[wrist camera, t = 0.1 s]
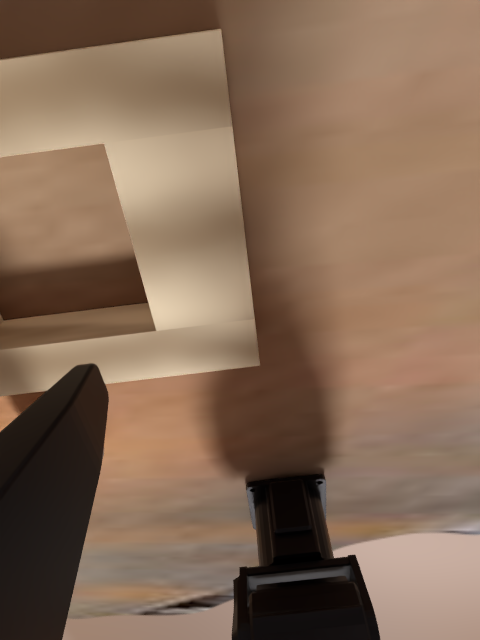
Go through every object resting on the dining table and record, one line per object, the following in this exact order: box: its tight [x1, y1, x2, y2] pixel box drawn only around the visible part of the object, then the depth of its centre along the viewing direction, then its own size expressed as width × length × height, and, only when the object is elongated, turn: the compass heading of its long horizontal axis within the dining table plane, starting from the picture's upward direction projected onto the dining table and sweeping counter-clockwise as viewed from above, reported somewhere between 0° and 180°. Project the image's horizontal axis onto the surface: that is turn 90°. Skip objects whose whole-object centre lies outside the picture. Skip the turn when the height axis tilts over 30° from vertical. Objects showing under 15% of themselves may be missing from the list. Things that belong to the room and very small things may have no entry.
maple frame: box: [0, 29, 260, 396], centre depth 22 cm, size 16×20×3 cm
